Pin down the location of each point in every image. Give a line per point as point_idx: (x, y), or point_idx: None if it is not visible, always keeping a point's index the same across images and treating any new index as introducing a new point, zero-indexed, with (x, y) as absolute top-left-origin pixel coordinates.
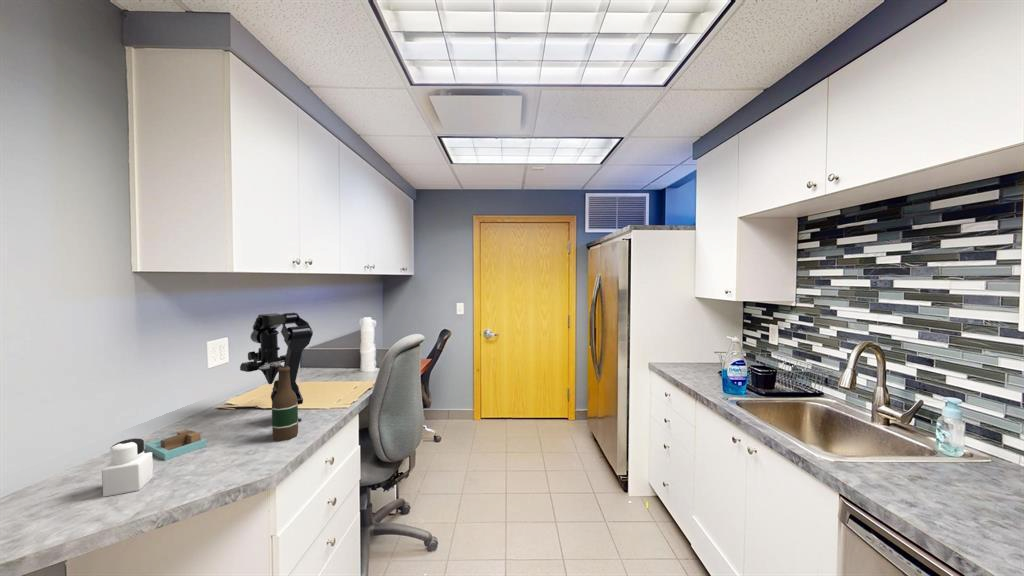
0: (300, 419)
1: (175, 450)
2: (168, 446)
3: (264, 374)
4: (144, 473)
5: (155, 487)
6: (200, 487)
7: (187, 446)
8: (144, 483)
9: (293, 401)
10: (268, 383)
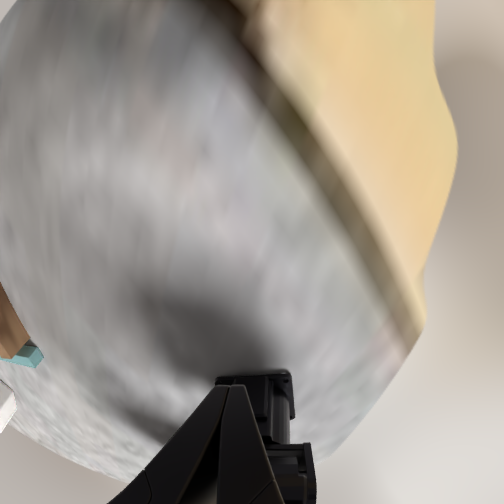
0: (292, 415)
1: (1, 359)
2: None
3: (125, 502)
4: (8, 414)
5: (30, 416)
6: (79, 456)
7: (12, 362)
8: (15, 405)
9: None
10: (212, 391)
